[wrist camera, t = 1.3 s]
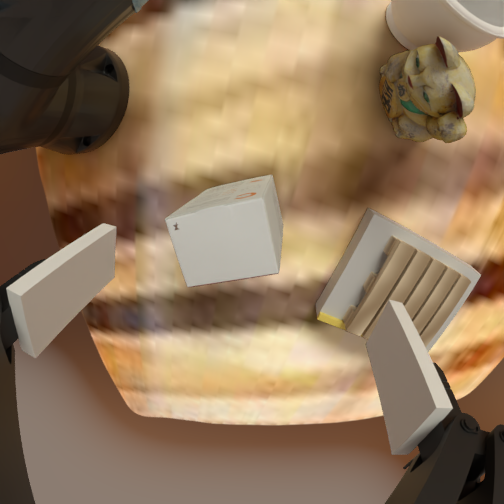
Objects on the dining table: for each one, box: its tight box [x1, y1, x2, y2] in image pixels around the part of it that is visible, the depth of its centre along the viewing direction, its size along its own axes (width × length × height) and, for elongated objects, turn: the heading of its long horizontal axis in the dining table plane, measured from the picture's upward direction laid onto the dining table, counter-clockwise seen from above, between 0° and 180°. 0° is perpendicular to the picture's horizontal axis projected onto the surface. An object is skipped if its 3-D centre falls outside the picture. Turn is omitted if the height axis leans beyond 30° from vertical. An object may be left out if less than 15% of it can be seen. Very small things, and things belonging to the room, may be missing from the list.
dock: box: [316, 208, 481, 352], centre depth 35 cm, size 18×14×4 cm
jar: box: [386, 0, 504, 52], centre depth 18 cm, size 11×10×15 cm
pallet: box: [343, 235, 471, 348], centre depth 33 cm, size 12×12×2 cm
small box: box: [165, 175, 283, 287], centre depth 30 cm, size 8×6×13 cm
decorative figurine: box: [379, 36, 476, 143], centre depth 21 cm, size 10×8×15 cm
